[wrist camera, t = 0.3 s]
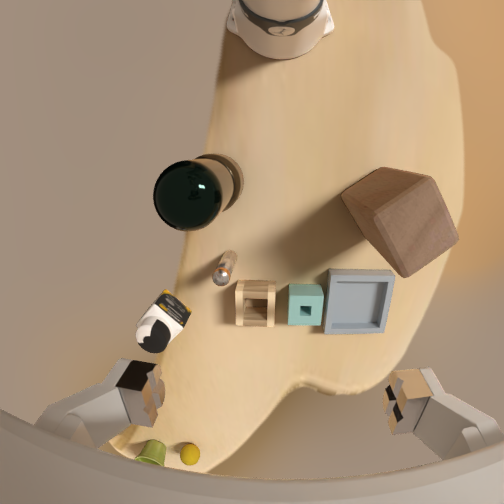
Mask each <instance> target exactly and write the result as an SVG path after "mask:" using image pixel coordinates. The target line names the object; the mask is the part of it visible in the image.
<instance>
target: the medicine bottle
mask: <svg viewBox="0 0 504 504" xmlns="http://www.w3.org/2000/svg"><path fill="white" fill-rule="evenodd" d="M191 312H192V311H191V310H190V309H189V308H188V307H187V306H185V305H184V304H183V303H182V302H181V301H179V300H178V299H177V298H176V297H175V296H174V295H172V294H171V293H170V292H169V291H168V290H166V289H165V290H164V291H163V292H162V293H161V294H160V295H159V297H158V298H157V299H156V300H155V301H154V302H153V304H152V305H151V306H150V307H149V308H148V310H147V311H146V312H145V313H144V315H143V316H142V317H141V319H140V320H139V321H138V323H137V324H136V326H137V327H138V329H137V331H136V340H137V342H138V344H139V345H140V346H141V347H142V348H143V349H144V350H146V351H148V352H150V353H160V352H162V351H164V350H165V348H166V346H167V345H168V344H169V343H170V342H171V341H172V340H173V339H174V338H175V337H176V336H177V335H178V334H179V333H180V332H181V331H182V330H183V328H184V326H185V324H186V322H187V320H188V318H189V316H190V314H191Z"/></svg>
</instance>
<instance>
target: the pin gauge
mask: <svg viewBox="0 0 504 504" xmlns="http://www.w3.org/2000/svg"><path fill="white" fill-rule="evenodd" d="M236 260H237V255H236V253H235V252H234V251H231V250H228V251H226V252H225V253H224V254H223V256H222V258H221V260H220V262H219V264H218V266H217V268H216V270H215V271H214V273H213V276H212V279H213V282H214V283H215V284H216V285H218V286H225V285H227V284H228V282H229V280H230V276H231V273H232V271H233V268H234V265H235V263H236Z"/></svg>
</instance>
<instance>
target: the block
mask: <svg viewBox="0 0 504 504" xmlns="http://www.w3.org/2000/svg"><path fill="white" fill-rule="evenodd" d="M341 197H342V200H343V202H344V203H345V205H346V207H347V208H348V210H349V212H350V213H351V215H352V217H353V218H354V220H355V222H356V223H357V225H358V227H359V228H360V230H361V232H362V234H363V235H364V237H365V238H366V239H367V240H368V241H369V242H370V243H371V244H372V245H373V246H374V248H375V249H376V250H377V251H378V252H379V253H380V254H381V255H382V256H383V257H384V258H385V260H386V261H387V262H388V263H389V264H390V265H391V266H392V267H393V268H394V270H395V271H396V272H397V273H398V274H399V275H400V276H401V277H403V278H407V277H410V276H411V275H412V274H414V273H415V272H417V271H418V270H420V269H421V268H423V267H424V266H426V265H427V264H428V263H430V262H431V261H433V260H434V259H436V258H437V257H438V256H440V255H441V254H442V253H444V252H445V251H447V250H448V249H449V248H451V247H452V246H453V245H455V244H456V243H457V241H458V240H459V236H458V233H457V231H456V228H455V226H454V223H453V221H452V218H451V216H450V213H449V211H448V209H447V206H446V204H445V202H444V200H443V197H442V195H441V193H440V191H439V189H438V186H437V184H436V182H435V180H434V179H433V178H432V177H431V176H427V175H423V174H418V173H413V172H408V171H403V170H398V169H393V168H388V167H380V168H379V169H377V170H376V171H374V172H373V173H371V174H370V175H368V176H367V177H365V178H363V179H362V180H360V181H359V182H357V183H356V184H354V185H353V186H351V187H350V188H348V189H347V190H345V191H344V192H343V193H342V195H341Z"/></svg>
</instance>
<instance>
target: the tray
mask: <svg viewBox="0 0 504 504" xmlns="http://www.w3.org/2000/svg"><path fill="white" fill-rule="evenodd" d="M394 281H395V275H394V274H393V272H392V271H391V270H364V269H329V272H328V282H327V292H326V301H325V310H324V319H323V330H324V334H367V333H384V330H385V326H386V322H387V317H388V312H389V307H390V302H391V297H392V292H393V286H394Z"/></svg>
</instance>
